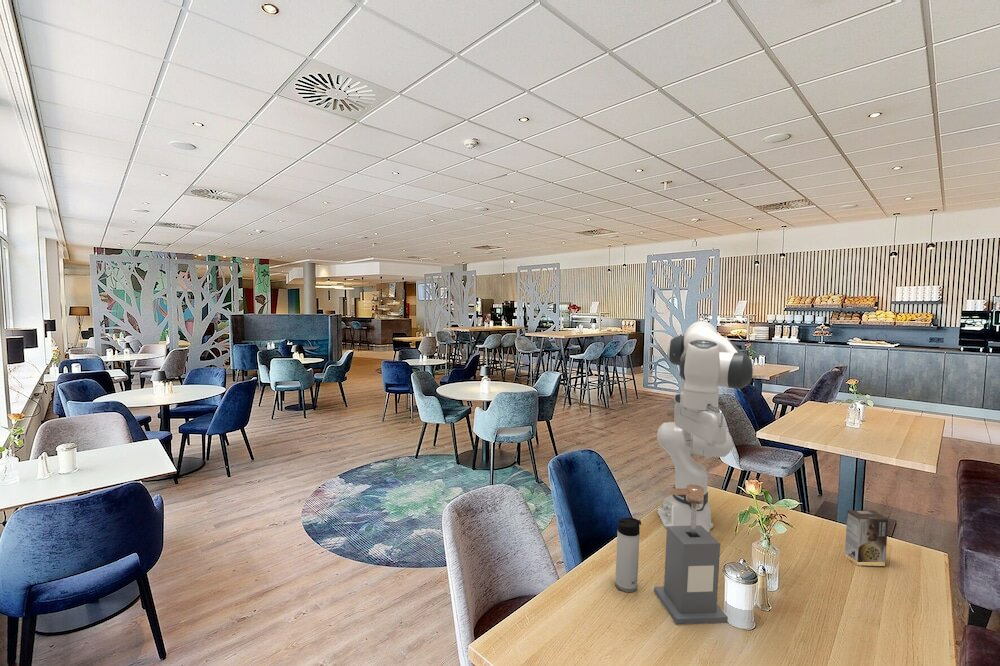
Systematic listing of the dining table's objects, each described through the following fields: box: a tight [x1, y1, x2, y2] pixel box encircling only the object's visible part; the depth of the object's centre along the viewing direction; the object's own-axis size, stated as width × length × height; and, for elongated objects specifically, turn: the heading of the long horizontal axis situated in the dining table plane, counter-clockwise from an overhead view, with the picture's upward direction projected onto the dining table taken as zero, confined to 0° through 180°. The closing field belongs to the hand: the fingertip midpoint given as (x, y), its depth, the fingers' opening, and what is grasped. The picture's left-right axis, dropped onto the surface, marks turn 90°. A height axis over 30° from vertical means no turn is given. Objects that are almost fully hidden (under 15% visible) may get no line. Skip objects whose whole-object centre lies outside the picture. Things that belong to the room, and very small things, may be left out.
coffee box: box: [844, 509, 889, 563], centre depth 155 cm, size 9×6×16 cm
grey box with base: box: [653, 525, 729, 625], centre depth 129 cm, size 14×14×20 cm
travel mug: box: [614, 517, 642, 593], centre depth 138 cm, size 6×7×20 cm
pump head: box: [667, 485, 704, 537], centre depth 128 cm, size 4×10×20 cm, turn 95°
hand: (697, 451), depth 127 cm, fingers open, 8 cm apart
